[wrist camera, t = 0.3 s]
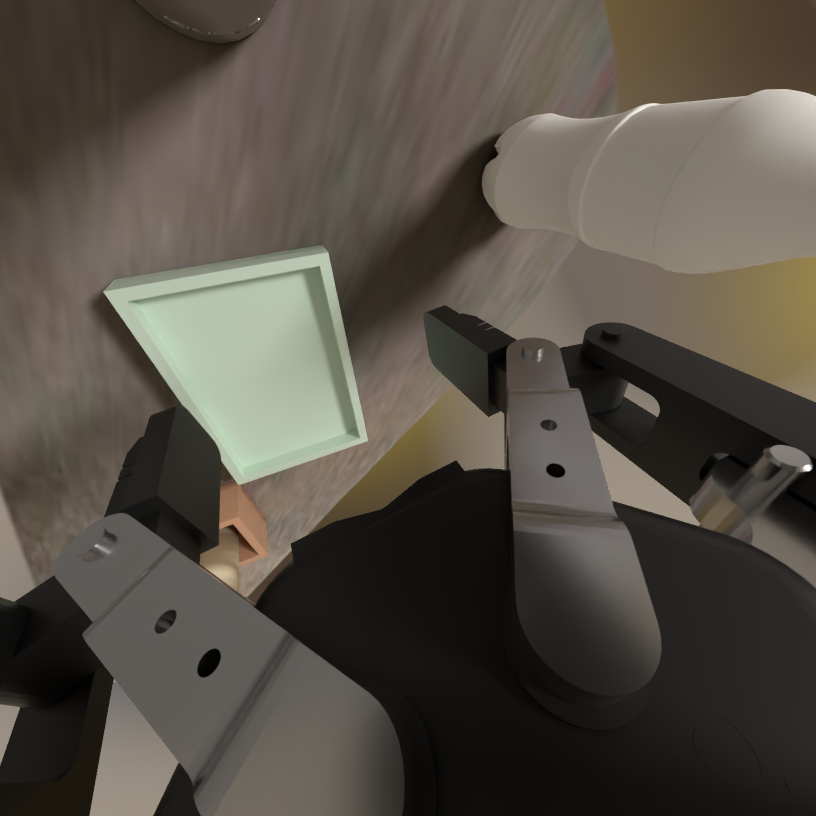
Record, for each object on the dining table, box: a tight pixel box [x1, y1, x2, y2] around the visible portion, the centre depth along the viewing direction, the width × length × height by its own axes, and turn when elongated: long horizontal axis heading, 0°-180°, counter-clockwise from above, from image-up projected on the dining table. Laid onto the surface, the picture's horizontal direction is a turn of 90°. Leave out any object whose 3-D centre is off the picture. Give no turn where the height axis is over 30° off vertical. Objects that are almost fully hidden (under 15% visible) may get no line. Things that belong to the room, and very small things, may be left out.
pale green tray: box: [103, 245, 368, 485], centre depth 29 cm, size 20×14×2 cm
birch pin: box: [200, 524, 239, 592], centre depth 31 cm, size 5×5×15 cm
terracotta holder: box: [219, 481, 268, 567], centre depth 35 cm, size 9×9×5 cm
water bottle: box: [482, 89, 816, 274], centre depth 18 cm, size 7×7×25 cm
